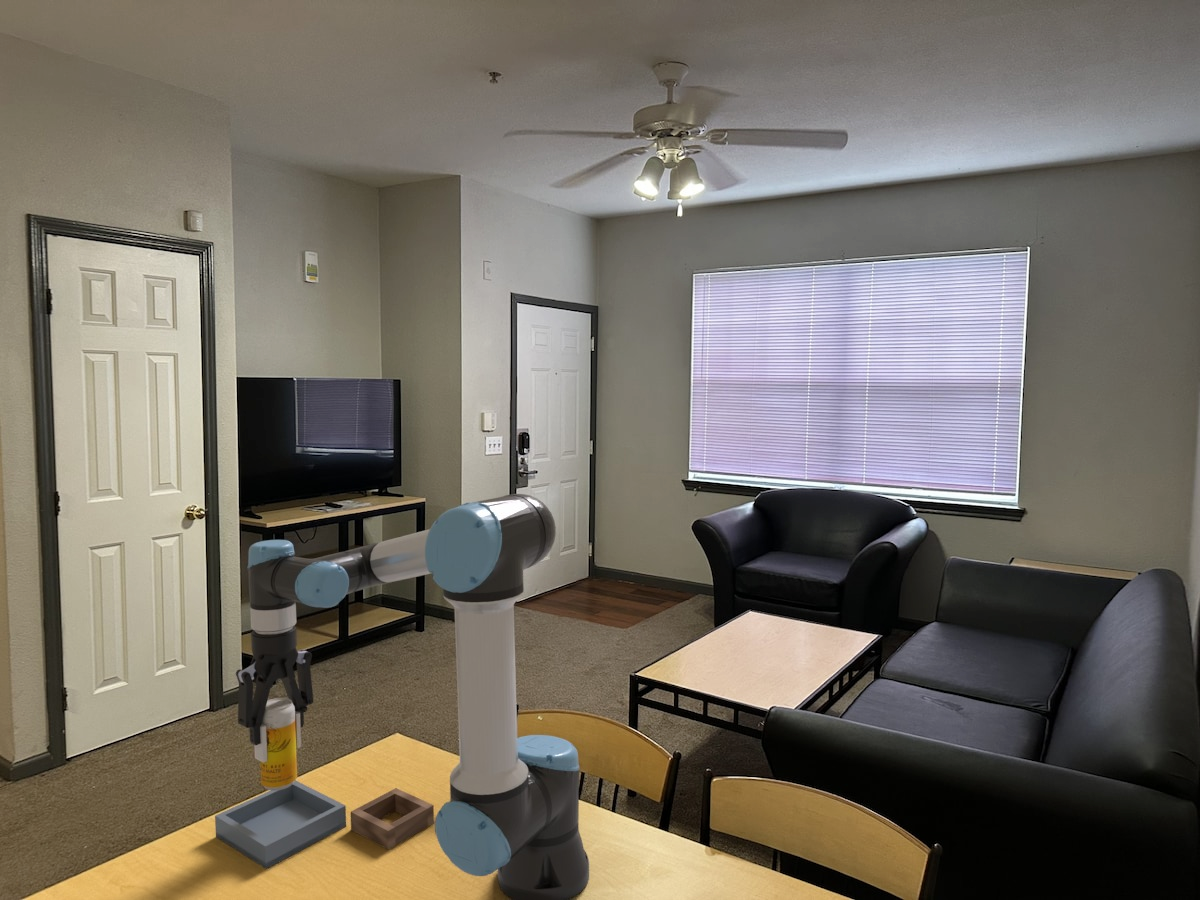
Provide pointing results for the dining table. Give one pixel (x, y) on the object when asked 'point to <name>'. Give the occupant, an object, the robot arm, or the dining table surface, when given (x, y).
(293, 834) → the tray
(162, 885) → the dining table surface
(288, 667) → the robot arm
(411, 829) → the collar holder
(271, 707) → the beer can
